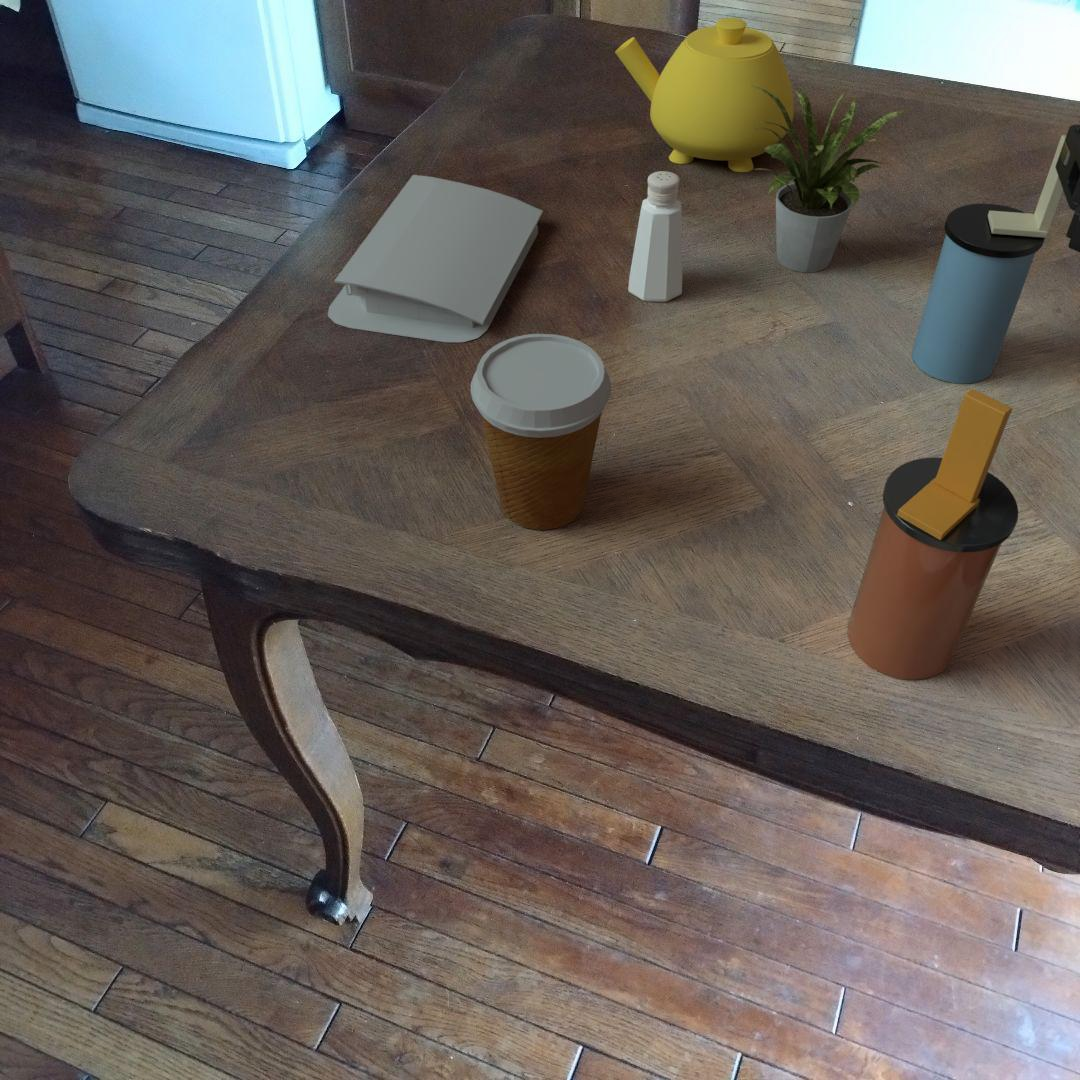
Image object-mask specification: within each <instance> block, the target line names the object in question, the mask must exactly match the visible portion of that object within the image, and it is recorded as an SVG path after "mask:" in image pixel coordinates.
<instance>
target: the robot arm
mask: <svg viewBox="0 0 1080 1080" xmlns="http://www.w3.org/2000/svg"><path fill="white" fill-rule="evenodd" d="M1065 135H1066V138H1065V141H1064V144H1063V147H1062V149H1061V152H1060V155H1059V158H1058V161H1057V164H1056V166H1055V168H1056V171H1057V173H1058V176H1059V179H1060V182H1061V185H1062V188H1063V194H1064V196H1065V199H1066V202H1067V204H1068V207H1069V209H1070V210H1072V211H1074V213H1073V215H1072V218H1071V220H1070V223H1069V226H1068V229H1067V231H1066V235H1065V238H1069V239H1070V240H1069V243H1068V246H1067V247H1068V249H1070V250H1073V251H1076V252H1078V253H1080V124H1071V125H1070V126H1069V127H1068V129H1067V132H1066V134H1065Z"/></svg>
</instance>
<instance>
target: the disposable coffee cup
mask: <svg viewBox="0 0 1080 1080" xmlns="http://www.w3.org/2000/svg"><path fill="white" fill-rule="evenodd" d="M611 394H612V383H611V378H610V375H609V373H608V371H607V370H606V368H605V366H604V362H603V359H602V358H601V357H600V356H599V354H598V352H596V351H595V350H594V349H593V348H591V347H590V346H589V345H588V344H586V343H584V342H582V341H580V340H578V339H575V338H572V337H569V336H565V335H560V334H553V333H552V334H550V333H529V334H523V335H518V336H513V337H511V338H508V339H506V340H503V341H501V342H499V343H496V344H495V345H493V346H492V347H491V348H490V349H488V350H487V351H486V352H485V353H484V354H483V355H482V357H481V358H480V360H479V362H478V364H477V366H476V371H475V372H474V373H473V375H472V379H471V382H470V396H471V399H472V402H473V403H474V405H475V407H476V409H477V410H478V412H479V413H480V417H481V420H482V421H481V422H482V425H483V430H484V435H485V439H486V445H487V450H488V453H489V458H490V462H491V467H492V471H493V476H494V480H495V485H496V489H497V493H498V499H499V504H500V508H501V511H502V512H503V514H504V515H505V517H506V518H507V519H508V520H510V521H511V522H512V523H514V524H516V525H518V526H520V527H522V528H527V529H530V530H539V531H541V530H553V529H558V528H561V527H563V526H566V525H568V524H570V523H571V522H573V521H574V520H575V519H577V517H579V515H580V514H581V512H582V511H583V509H584V506H585V501H586V500H585V499H586V494H587V489H588V483H589V478H590V473H591V469H592V463H593V458H594V453H595V449H596V443H597V439H598V433H599V428H600V423H601V417H602V414H603V413H602V412H603V411H604V409H605V407H606V405H607V404H608V402H609V401H610V396H611Z"/></svg>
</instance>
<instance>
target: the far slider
mask: <svg viewBox="0 0 1080 1080" xmlns="http://www.w3.org/2000/svg"><path fill="white" fill-rule="evenodd" d="M1066 135H1067V134H1062V135H1061V137H1060V139H1059V142H1058V145H1057V148H1056V151H1055V153H1054V157H1053V159H1052V162H1051V164H1050V168H1049V171H1048V173H1047V176H1046V179H1045V182H1044V185H1043V188H1042V190H1041V193H1040V196H1039V198H1038V202H1037V204H1036V207H1035V209H1034V212H1033V213H1028V212H1025V213H1016V212H1003V211H989V213H988V220H989V224H990V228H991V232H992V234H1003V235H1016V236H1029V237H1042V238H1045V239H1046V238H1047V237H1048V233H1049V231H1050V229H1051V227H1052V223H1053V221H1054V219H1055V215H1056V212H1057V209H1058V207H1059V204H1060V203H1061V199H1062V197H1063V194H1064V191H1063V188H1062V185H1061V182H1060V179H1059V176H1058V173H1057V171H1056V168H1055V166H1056V164H1057V161H1058V158H1059V155H1060V152H1061V149H1062V147H1063V144H1064V141H1065V138H1066Z"/></svg>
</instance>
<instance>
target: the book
mask: <svg viewBox="0 0 1080 1080" xmlns="http://www.w3.org/2000/svg"><path fill="white" fill-rule="evenodd" d="M543 213H544V210H542V209H540V208H537V207H535V206H533V205H531V204H529V203H526V202H524V201H522V200H519V199H518V198H515V197H513V196H509V195H506V194H503V193H499V192H497V191H494V190H490V189H489V188H488V189H487V188H483V187H479V186H475V185H472V184H467V183H463V182H459V181H455V180H454V181H453V180H449V179H444V178H439V177H435V176H427V175H419V174H412V175H411V177H410V178H409V179H408V181H407V182H406V183H405V185H404V186H403V187H402V189H401V190H400V191H399V193H398V194H397V195H396V197H395V198H394V199H393V201H392V203H391V204H390V205H389V206H388V207H387V209H386V210H385V211H384V213H383V215H381V217H380V218H379V220H378V221H377V223H375V225H374V227H372V229H371V230H370V232H369V233H368V234H367V235H366V237H365V239H364V240H363V241H362V242H361V244H360V245H359V246H358V248H357V249H356V251H355V252H354V253H353V255H352V256H351V257H350V258H349V260H348V261H347V263H346V264H345V265H344V266H343V268H342V269H341V271H340V272H339V274H337V276H336V277H335V279H334V284H335V283H336V284H341V285H344V286H343V287H342V289H341V290H340V291H339V292H338V294H337V295H336V297H335V298H334V299H333V301H332V302H331V303H330V305H329V306H328V310H327V317H328V318H329V319H330V320H331V321H332V322H333V323H334V324H335V325H339V326H341V327H345V328H348V329H354V330H359V331H367V332H373V333H380V334H387V335H392V336H400V337H404V338H405V337H406V338H412V339H419V340H425V341H426V340H427V341H433V342H439V343H445V344H446V343H447V344H448V343H453V344H454V343H455V344H464V343H466V342H471V341H474V340H477V339H479V338H480V337H482V336H483V335H484V334H485V333H486V332H487V331H488V330H489V327H490V326H491V324H492V322H493V321H494V318H495V317H496V314H497V313H498V310H499V308H500V307H501V305H502V303H503V301H504V299H505V297H506V295H507V293H508V291H509V289H510V287H511V286H512V284H513V282H514V280H515V278H516V276H517V274H518V273H519V270H520V268H521V267H522V265H523V263H524V261H525V260H526V257H527V255H528V254H529V252H530V250H531V248H532V246H533V244H534V242H535V240H536V238H537V237H538V234H539V227H538V225H537V224H538V222H539V221H540V219H541V217H542V215H543Z"/></svg>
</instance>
